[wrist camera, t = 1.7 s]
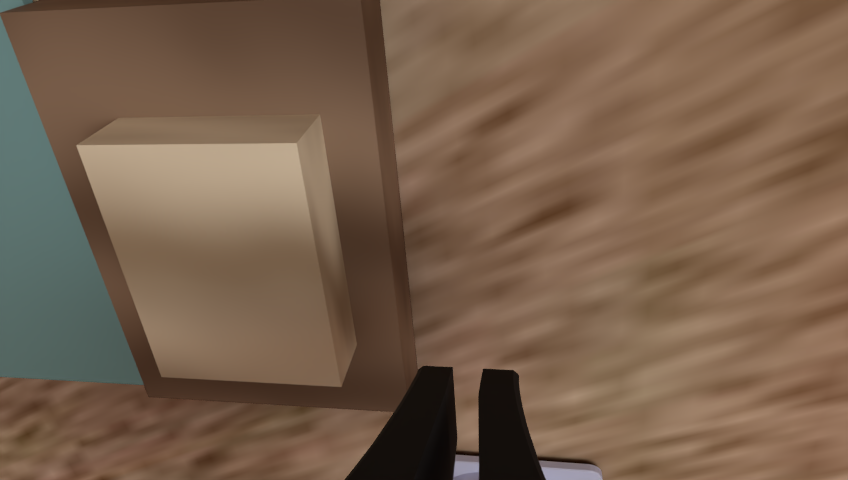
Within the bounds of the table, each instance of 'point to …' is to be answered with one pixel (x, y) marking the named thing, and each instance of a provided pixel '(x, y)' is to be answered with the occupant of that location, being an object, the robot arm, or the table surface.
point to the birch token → (228, 244)
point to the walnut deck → (239, 96)
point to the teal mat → (47, 256)
